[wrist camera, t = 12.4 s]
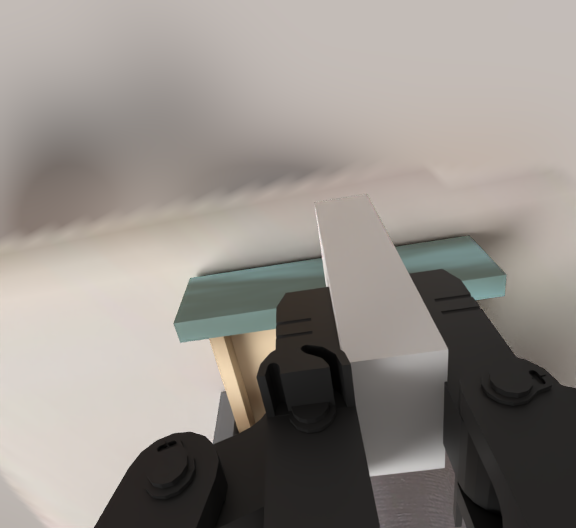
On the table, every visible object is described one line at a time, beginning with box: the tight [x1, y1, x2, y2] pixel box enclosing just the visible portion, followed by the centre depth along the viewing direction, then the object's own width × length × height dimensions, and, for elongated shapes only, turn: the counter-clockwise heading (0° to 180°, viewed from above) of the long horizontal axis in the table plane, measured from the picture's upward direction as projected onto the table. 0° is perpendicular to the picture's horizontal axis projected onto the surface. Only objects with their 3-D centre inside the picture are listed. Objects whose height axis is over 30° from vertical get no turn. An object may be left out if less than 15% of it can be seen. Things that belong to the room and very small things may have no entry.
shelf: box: [174, 236, 506, 433], centre depth 26 cm, size 18×16×4 cm
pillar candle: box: [370, 450, 466, 528], centre depth 21 cm, size 10×10×15 cm
